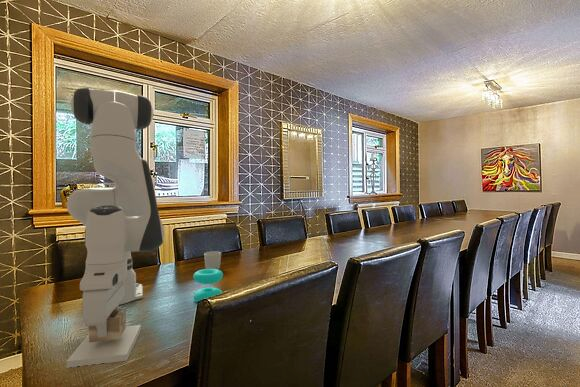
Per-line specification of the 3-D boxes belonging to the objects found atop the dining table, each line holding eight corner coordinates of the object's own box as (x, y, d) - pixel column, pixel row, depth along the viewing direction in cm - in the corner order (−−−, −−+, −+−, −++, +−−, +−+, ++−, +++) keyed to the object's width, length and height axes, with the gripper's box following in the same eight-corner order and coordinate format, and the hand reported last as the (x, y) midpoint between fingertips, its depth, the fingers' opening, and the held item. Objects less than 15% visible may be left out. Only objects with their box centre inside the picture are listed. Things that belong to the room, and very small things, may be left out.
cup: (203, 266, 158) (203, 250, 158) (219, 265, 161) (219, 249, 161) (204, 272, 148) (204, 255, 148) (222, 271, 151) (222, 254, 150)
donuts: (189, 275, 107) (197, 267, 117) (190, 305, 107) (197, 295, 117) (220, 275, 107) (225, 267, 117) (220, 304, 108) (225, 294, 118)
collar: (98, 330, 82) (97, 311, 82) (125, 327, 83) (125, 308, 83) (89, 342, 75) (88, 321, 75) (119, 339, 77) (118, 318, 77)
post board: (91, 335, 86) (91, 312, 85) (140, 330, 89) (140, 308, 88) (66, 368, 70) (65, 340, 70) (126, 360, 73) (126, 334, 73)
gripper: (105, 263, 88) (106, 313, 89) (76, 285, 68) (77, 350, 69) (130, 262, 90) (131, 311, 90) (109, 283, 70) (110, 346, 70)
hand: (107, 328), depth 79 cm, fingers closed on collar, 6 cm apart
